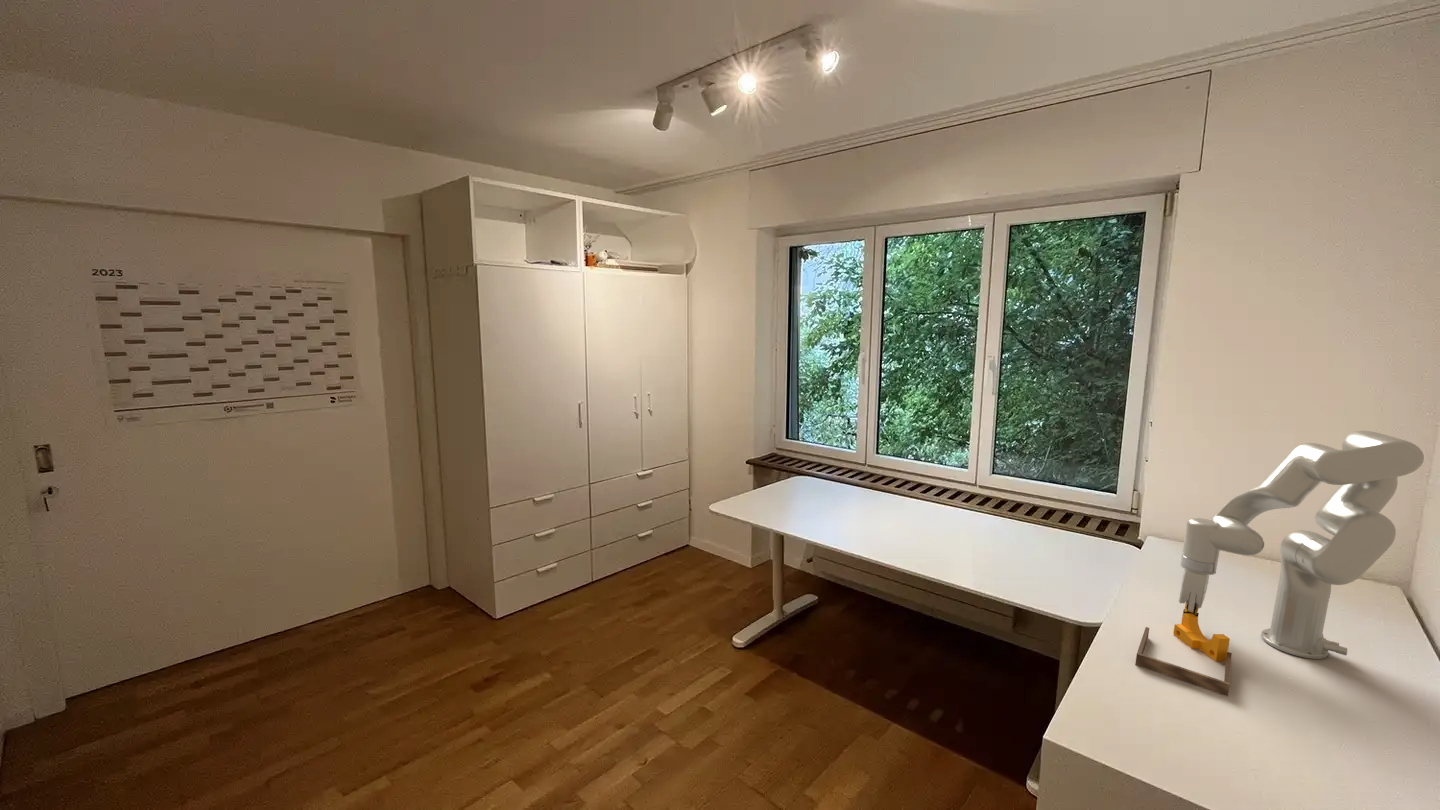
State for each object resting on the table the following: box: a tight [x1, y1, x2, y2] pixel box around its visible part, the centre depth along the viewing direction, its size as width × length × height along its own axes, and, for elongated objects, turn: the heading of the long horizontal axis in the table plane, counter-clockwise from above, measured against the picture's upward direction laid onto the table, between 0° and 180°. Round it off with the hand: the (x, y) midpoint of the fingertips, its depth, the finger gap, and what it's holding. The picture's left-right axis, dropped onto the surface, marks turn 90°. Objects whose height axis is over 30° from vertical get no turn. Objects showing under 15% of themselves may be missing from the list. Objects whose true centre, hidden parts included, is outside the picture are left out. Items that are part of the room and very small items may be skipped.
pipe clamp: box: [1172, 612, 1231, 663], centre depth 150 cm, size 12×4×6 cm, turn 178°
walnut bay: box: [1134, 626, 1233, 697], centre depth 143 cm, size 18×17×3 cm
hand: (1188, 624), depth 158 cm, fingers closed
